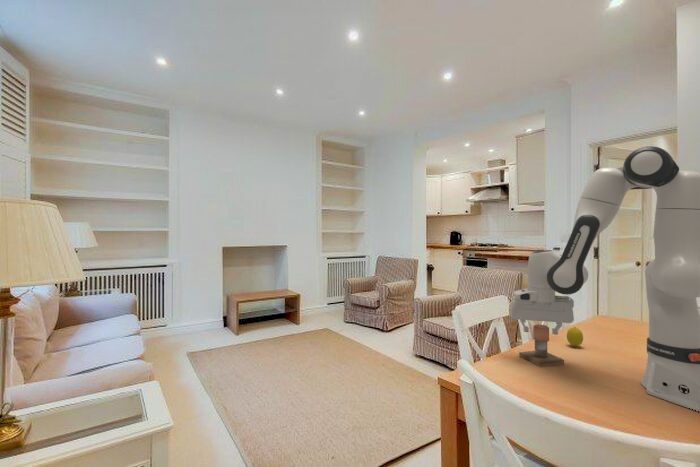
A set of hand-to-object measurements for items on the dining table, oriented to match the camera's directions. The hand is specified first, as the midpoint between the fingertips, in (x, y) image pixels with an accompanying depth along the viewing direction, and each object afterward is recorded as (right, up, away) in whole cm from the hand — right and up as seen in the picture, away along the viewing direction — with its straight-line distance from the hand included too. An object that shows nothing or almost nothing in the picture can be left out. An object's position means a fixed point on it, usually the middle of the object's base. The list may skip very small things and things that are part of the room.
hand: (540, 332), depth 123 cm
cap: (0, -2, 0) cm, 2 cm away
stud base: (0, -10, 0) cm, 10 cm away
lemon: (+22, -10, +14) cm, 27 cm away
